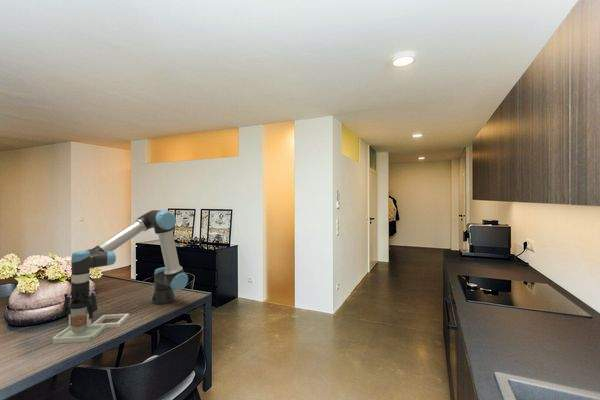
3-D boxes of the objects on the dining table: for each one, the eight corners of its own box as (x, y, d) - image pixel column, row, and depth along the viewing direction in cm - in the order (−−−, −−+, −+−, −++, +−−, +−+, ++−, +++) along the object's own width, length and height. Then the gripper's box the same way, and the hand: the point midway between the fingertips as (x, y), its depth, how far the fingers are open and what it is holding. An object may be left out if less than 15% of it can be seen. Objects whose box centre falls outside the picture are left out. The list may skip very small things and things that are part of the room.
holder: (129, 316, 172) (129, 313, 172) (118, 327, 158) (118, 323, 158) (103, 318, 169) (103, 314, 169) (90, 328, 156) (90, 325, 156)
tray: (105, 328, 156) (105, 324, 156) (91, 341, 142) (91, 336, 142) (68, 330, 153) (68, 326, 153) (50, 343, 139) (50, 339, 139)
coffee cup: (67, 335, 142) (68, 305, 142) (71, 329, 149) (72, 300, 149) (88, 332, 146) (88, 303, 146) (91, 325, 153) (91, 297, 153)
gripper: (105, 278, 153) (105, 321, 153) (62, 280, 149) (62, 323, 150) (98, 282, 146) (98, 327, 146) (53, 284, 142) (52, 330, 142)
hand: (80, 325), depth 148 cm, fingers closed on coffee cup, 7 cm apart
